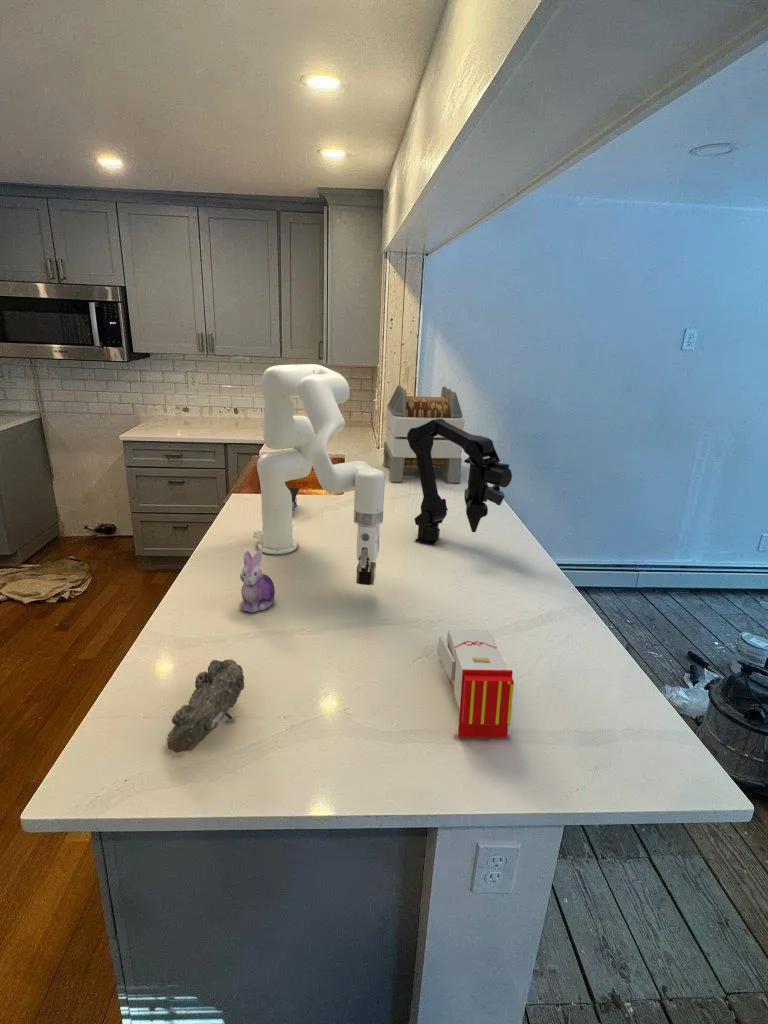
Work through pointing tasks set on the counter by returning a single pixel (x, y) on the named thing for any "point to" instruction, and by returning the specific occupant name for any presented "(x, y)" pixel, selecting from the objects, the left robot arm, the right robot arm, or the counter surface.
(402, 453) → the transformer
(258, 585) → the figurine
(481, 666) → the toy
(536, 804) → the counter surface
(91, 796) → the counter surface
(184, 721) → the fossil
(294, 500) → the figurine character
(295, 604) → the counter surface
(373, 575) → the brown wooden cube
